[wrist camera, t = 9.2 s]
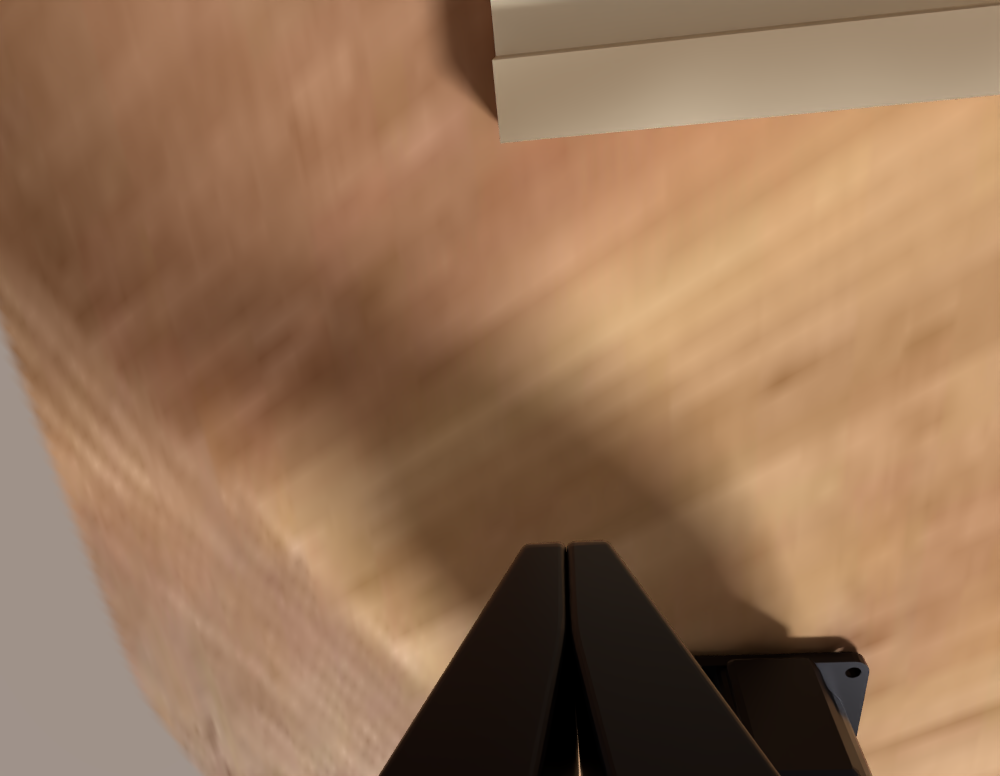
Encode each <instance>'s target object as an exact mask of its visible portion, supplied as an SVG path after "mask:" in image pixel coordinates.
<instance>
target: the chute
mask: <svg viewBox="0 0 1000 776" xmlns="http://www.w3.org/2000/svg"><path fill="white" fill-rule="evenodd" d="M490 1H491V11H492V22H493V32H494V42H495V53H496V56H495V58H494V59H493V60H492V64H493V74H494V84H495V94H496V104H497V115H498V125H499V135H500V143H508V142H518V141H528V140H539V139H549V138H559V137H569V136H580V135H590V134H600V133H611V132H621V131H631V130H642V129H652V128H662V127H672V126H683V125H693V124H703V123H714V122H724V121H734V120H745V119H755V118H765V117H775V116H786V115H796V114H806V113H817V112H827V111H837V110H848V109H858V108H868V107H878V106H889V105H899V104H909V103H920V102H930V101H940V100H951V99H961V98H971V97H981V96H992V95H1000V0H490Z"/></svg>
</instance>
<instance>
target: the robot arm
mask: <svg viewBox="0 0 1000 776" xmlns="http://www.w3.org/2000/svg"><path fill="white" fill-rule="evenodd" d="M868 676H869V668H868V666H867V663H866V661H865V659H864V658H863V656H862V655H860V654H858V653H854V652H837V653H800V654H763V655H725V656H692V654H691V653H690V652H689V650H688V649H687V648H686V646H685V645H684V644H683V642H682V641H681V639H680V638H679V637H678V635H677V634H676V633H675V631H674V630H673V629H672V627H671V626H670V624H669V623H668V622H667V620H666V619H665V618H664V616H663V615H662V614H661V612H660V611H659V609H658V608H657V607H656V605H655V604H654V603H653V601H652V600H651V598H650V597H649V596H648V594H647V593H646V592H645V590H644V589H643V588H642V586H641V585H640V583H639V582H638V581H637V579H636V578H635V577H634V575H633V574H632V573H631V571H630V570H629V568H628V567H627V566H626V564H625V563H624V562H623V560H622V559H621V558H620V556H619V555H618V553H617V552H616V551H615V549H614V548H613V547H612V545H611V544H610V543H609V542H607V541H604V540H593V541H573V542H571V543H569V544H568V546H567V552H566V547H565V545H564V544H563V543H561V542H547V543H529V544H526V545H525V546H524V547H523V548H522V549H521V550H520V552H519V554H518V555H517V557H516V558H515V560H514V562H513V563H512V565H511V566H510V568H509V569H508V571H507V573H506V574H505V576H504V577H503V579H502V581H501V582H500V584H499V585H498V587H497V589H496V590H495V592H494V593H493V595H492V596H491V598H490V600H489V601H488V603H487V604H486V606H485V608H484V609H483V611H482V612H481V614H480V616H479V617H478V619H477V620H476V622H475V623H474V625H473V627H472V628H471V630H470V631H469V633H468V635H467V636H466V638H465V639H464V641H463V642H462V644H461V646H460V647H459V649H458V650H457V652H456V654H455V655H454V657H453V658H452V660H451V662H450V663H449V665H448V666H447V668H446V669H445V671H444V673H443V674H442V676H441V677H440V679H439V681H438V682H437V684H436V685H435V687H434V689H433V690H432V692H431V693H430V695H429V696H428V698H427V700H426V701H425V703H424V704H423V706H422V708H421V709H420V711H419V712H418V714H417V716H416V717H415V719H414V720H413V722H412V723H411V725H410V727H409V728H408V730H407V731H406V733H405V735H404V736H403V738H402V739H401V741H400V742H399V744H398V746H397V747H396V749H395V750H394V752H393V754H392V755H391V757H390V758H389V760H388V762H387V763H386V765H385V766H384V768H383V769H382V771H381V773H380V774H379V776H579V762H578V744H579V757H580V769H581V776H872V773H871V771H870V769H869V766H868V764H867V761H866V759H865V757H864V754H863V752H862V750H861V747H860V745H859V742H858V740H857V738H856V736H857V731H858V726H859V721H860V716H861V711H862V706H863V701H864V696H865V691H866V686H867V681H868ZM577 732H578V734H577Z"/></svg>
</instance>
